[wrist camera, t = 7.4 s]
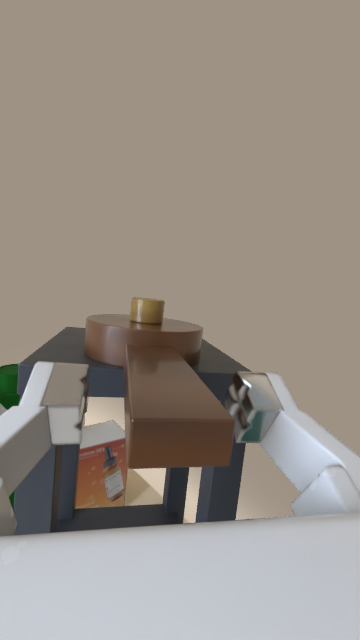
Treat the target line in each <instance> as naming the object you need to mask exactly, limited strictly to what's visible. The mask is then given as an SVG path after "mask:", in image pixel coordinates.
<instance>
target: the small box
mask: <svg viewBox="0 0 360 640" xmlns="http://www.w3.org/2000/svg"><path fill="white" fill-rule="evenodd" d="M127 469H128V468H127V466H126V440H125V431H124V430H123V429H122V428H121V427H120V426H119V425H118V424H117V423H116V422H115V421H114V420H111V421H107V422H104V423H99V424H94V425H89V426H84V430H83V436H82V442H81V444H80V455H79V468H78V481H77V495H76V508H75V509H80V508H99V507H118V506H124V499H125V489H126V479H127Z"/></svg>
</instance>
